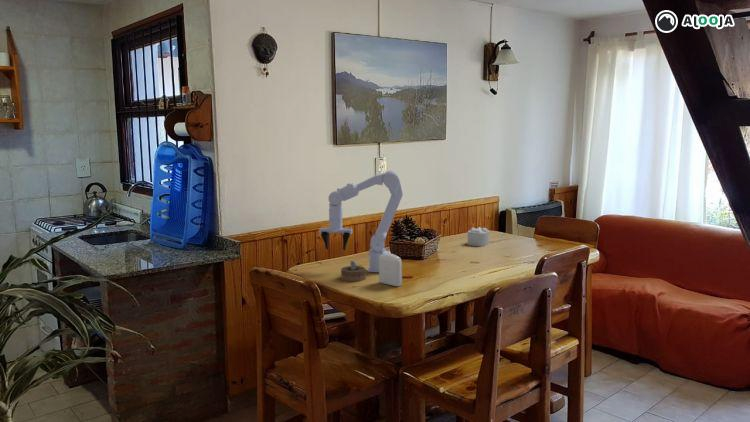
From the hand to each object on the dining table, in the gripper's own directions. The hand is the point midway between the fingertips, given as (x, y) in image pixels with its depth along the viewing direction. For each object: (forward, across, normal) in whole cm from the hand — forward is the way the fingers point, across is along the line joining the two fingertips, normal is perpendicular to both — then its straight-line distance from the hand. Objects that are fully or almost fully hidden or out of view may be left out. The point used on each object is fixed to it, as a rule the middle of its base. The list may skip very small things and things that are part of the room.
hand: (335, 249), depth 256 cm
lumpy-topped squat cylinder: (+10, +62, +71) cm, 94 cm away
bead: (+9, +10, -12) cm, 19 cm away
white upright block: (+10, +27, -18) cm, 34 cm away
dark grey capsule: (+9, +10, -12) cm, 18 cm away
